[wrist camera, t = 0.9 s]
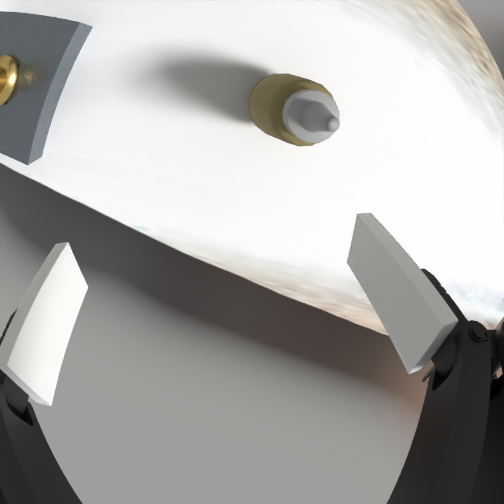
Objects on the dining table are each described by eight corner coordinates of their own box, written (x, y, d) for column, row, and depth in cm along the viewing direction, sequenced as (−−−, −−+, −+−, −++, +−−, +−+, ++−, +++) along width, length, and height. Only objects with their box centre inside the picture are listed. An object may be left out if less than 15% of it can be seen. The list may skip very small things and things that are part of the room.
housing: (-31, 124, 22) (-46, 131, 18) (6, 12, 13) (-9, 11, 10) (41, 156, 29) (27, 165, 26) (92, 27, 21) (80, 22, 18)
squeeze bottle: (264, 63, 28) (313, 46, 14) (316, 94, 31) (397, 112, 17) (233, 115, 32) (252, 144, 17) (286, 142, 35) (343, 194, 20)
